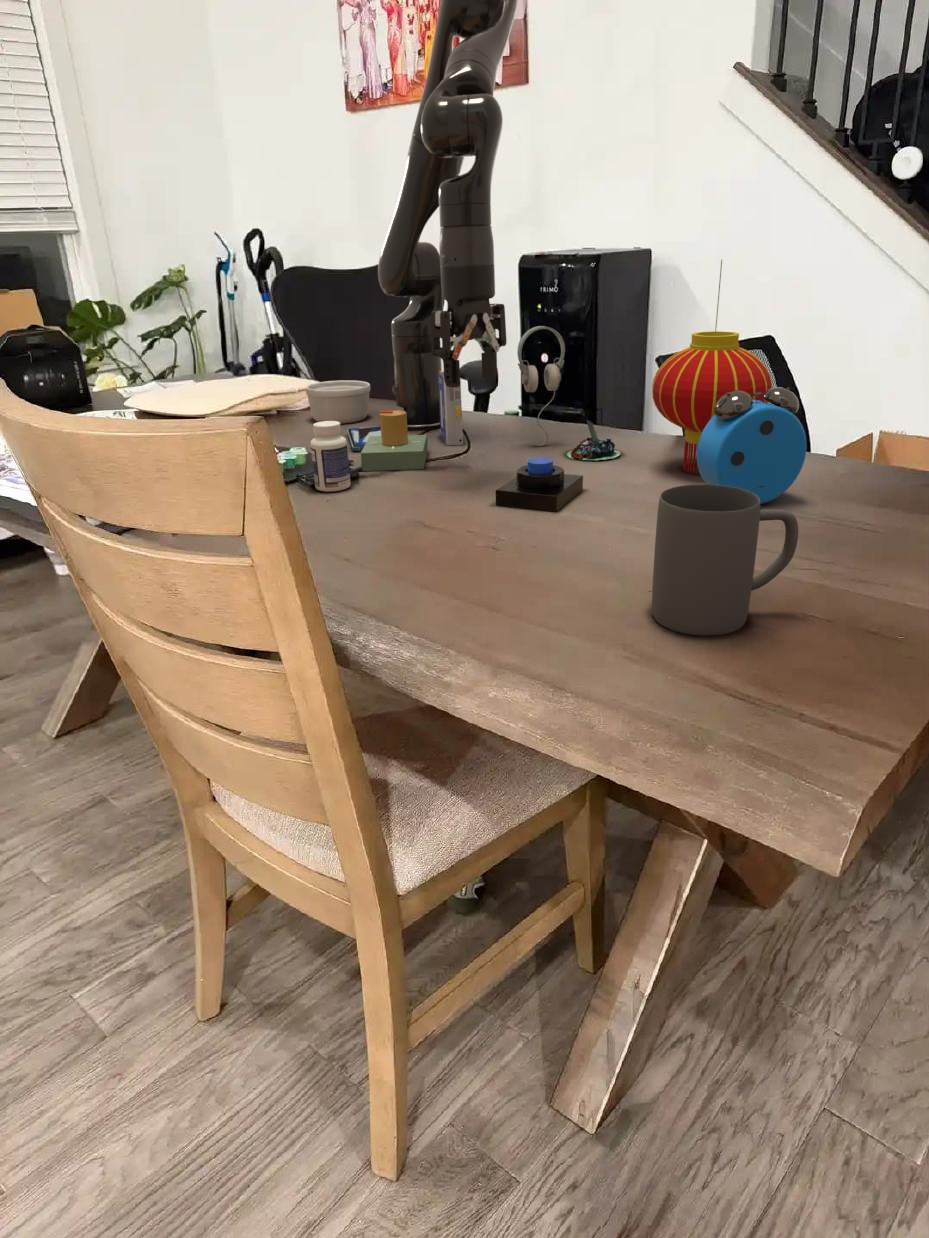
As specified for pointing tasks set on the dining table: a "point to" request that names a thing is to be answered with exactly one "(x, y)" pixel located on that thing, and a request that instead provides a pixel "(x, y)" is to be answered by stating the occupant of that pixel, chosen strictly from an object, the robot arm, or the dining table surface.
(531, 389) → the headphones
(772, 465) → the alarm clock
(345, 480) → the pill bottle
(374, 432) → the smartphone
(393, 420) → the dimmer knob
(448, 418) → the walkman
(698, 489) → the mug
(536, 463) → the button
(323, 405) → the ramekin
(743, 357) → the lantern
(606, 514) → the dining table surface
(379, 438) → the block
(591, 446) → the dish
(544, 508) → the lamp switch
